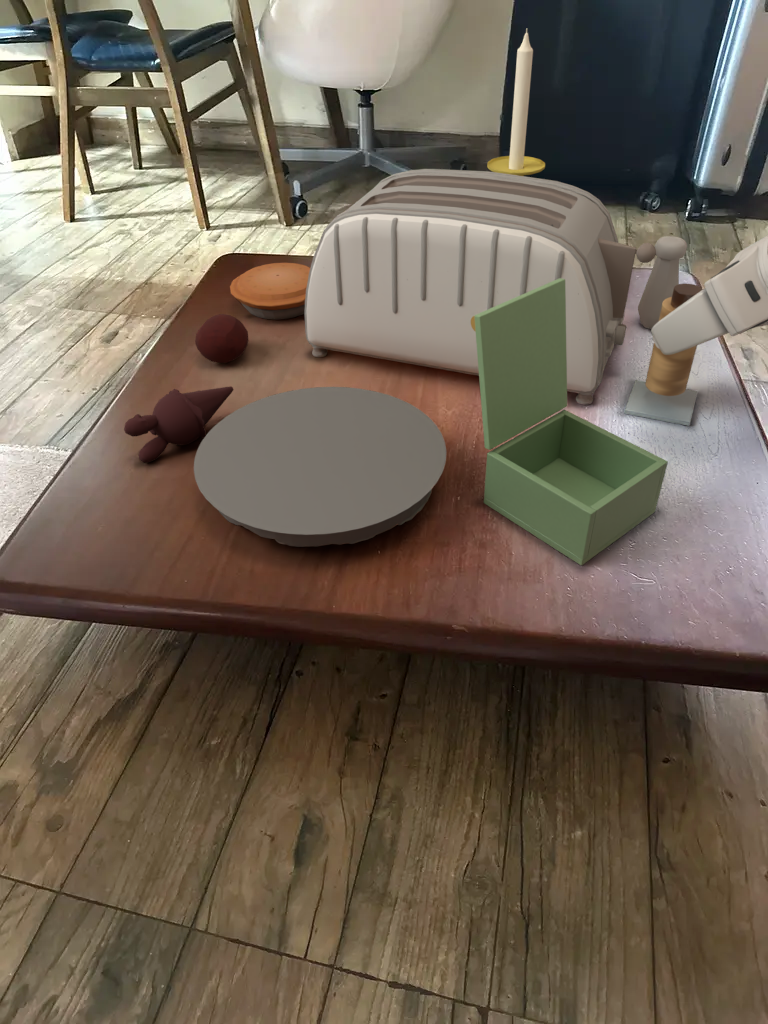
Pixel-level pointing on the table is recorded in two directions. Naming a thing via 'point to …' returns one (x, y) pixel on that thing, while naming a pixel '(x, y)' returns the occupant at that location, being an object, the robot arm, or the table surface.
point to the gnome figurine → (176, 419)
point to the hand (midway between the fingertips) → (673, 333)
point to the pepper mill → (673, 369)
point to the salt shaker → (661, 279)
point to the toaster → (467, 269)
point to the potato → (222, 338)
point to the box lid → (522, 361)
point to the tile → (661, 405)
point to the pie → (273, 290)
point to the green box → (573, 484)
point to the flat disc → (321, 465)
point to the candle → (519, 121)
